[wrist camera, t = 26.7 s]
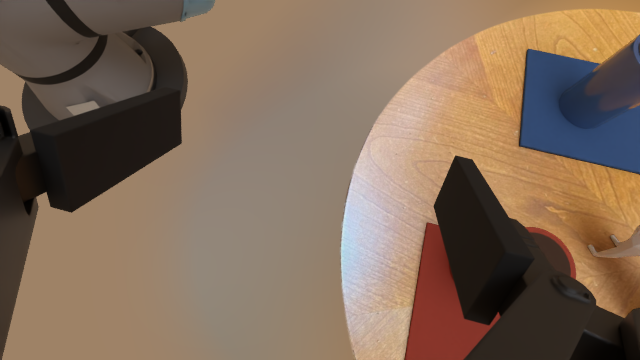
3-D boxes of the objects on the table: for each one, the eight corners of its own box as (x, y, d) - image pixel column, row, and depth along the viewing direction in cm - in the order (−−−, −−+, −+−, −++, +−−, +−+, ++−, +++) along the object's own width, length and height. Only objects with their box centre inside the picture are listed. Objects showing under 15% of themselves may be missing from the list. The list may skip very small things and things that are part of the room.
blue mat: (526, 50, 48) (528, 48, 47) (637, 73, 47) (640, 72, 46) (519, 146, 43) (520, 145, 43) (641, 174, 42) (644, 173, 42)
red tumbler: (452, 234, 39) (502, 218, 29) (506, 248, 39) (577, 237, 28) (445, 289, 37) (495, 294, 27) (501, 304, 37) (576, 315, 26)
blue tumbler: (559, 82, 46) (633, 23, 35) (607, 92, 45) (695, 36, 35) (558, 122, 44) (634, 73, 33) (607, 133, 43) (701, 87, 33)
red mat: (426, 222, 40) (427, 222, 40) (531, 249, 39) (533, 249, 39) (401, 381, 35) (402, 382, 34) (521, 415, 34) (523, 417, 34)
